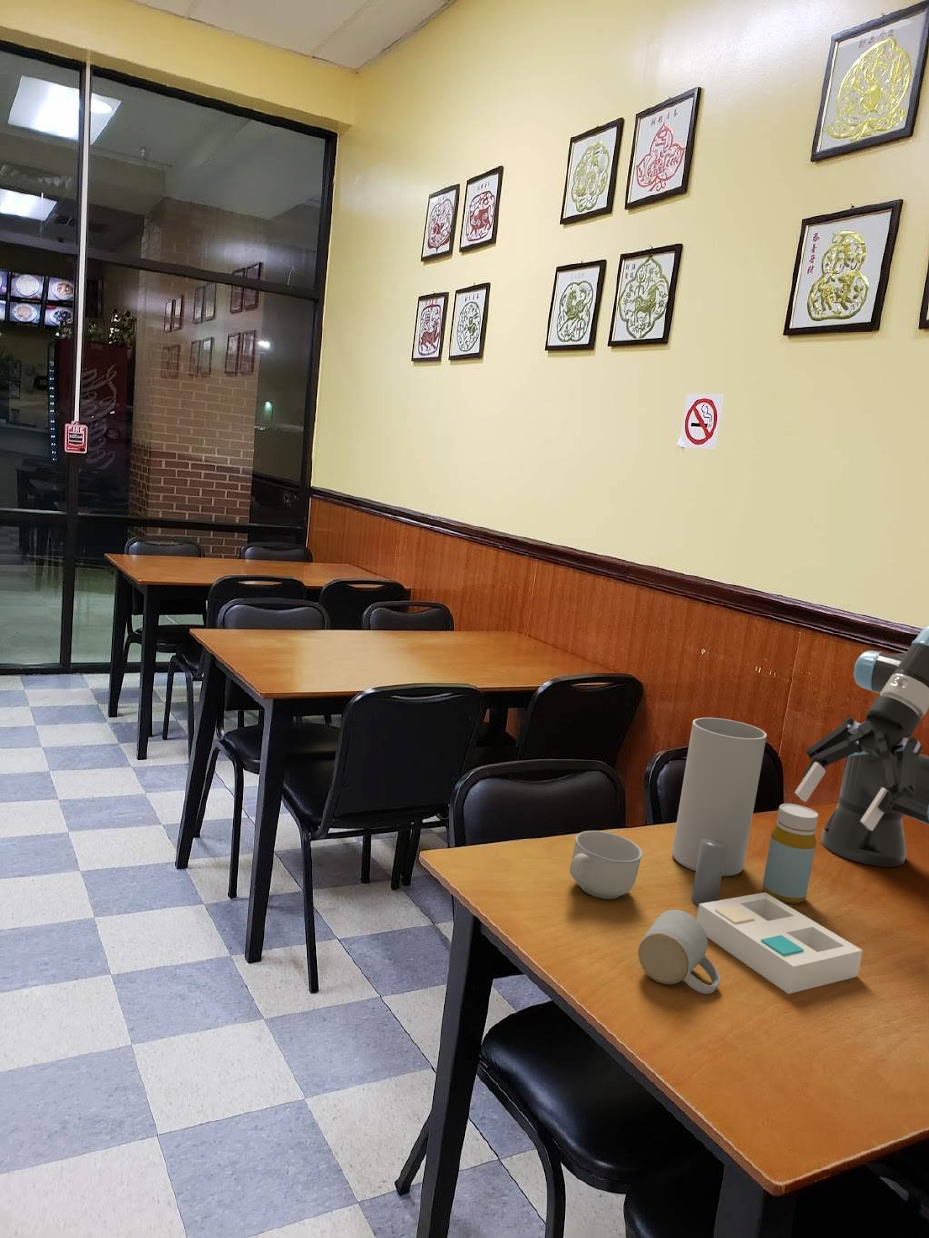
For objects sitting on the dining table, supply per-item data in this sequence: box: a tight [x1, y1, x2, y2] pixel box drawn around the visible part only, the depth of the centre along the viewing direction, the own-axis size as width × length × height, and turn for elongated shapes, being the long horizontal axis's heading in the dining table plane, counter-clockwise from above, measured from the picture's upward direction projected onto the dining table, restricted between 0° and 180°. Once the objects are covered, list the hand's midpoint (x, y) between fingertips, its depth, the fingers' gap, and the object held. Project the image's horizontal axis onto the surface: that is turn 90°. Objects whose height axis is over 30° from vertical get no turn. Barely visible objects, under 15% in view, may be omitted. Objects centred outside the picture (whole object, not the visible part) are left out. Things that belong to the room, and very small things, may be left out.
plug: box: [691, 838, 727, 907], centre depth 145 cm, size 4×4×10 cm
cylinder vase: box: [671, 717, 768, 877], centre depth 160 cm, size 12×12×25 cm
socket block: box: [695, 891, 864, 995], centre depth 132 cm, size 14×18×4 cm
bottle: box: [761, 803, 819, 905], centre depth 151 cm, size 7×7×15 cm
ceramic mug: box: [637, 909, 721, 995], centre depth 122 cm, size 11×8×8 cm
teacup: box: [569, 830, 643, 900], centre depth 145 cm, size 14×11×8 cm
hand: (831, 811), depth 149 cm, fingers open, 13 cm apart
